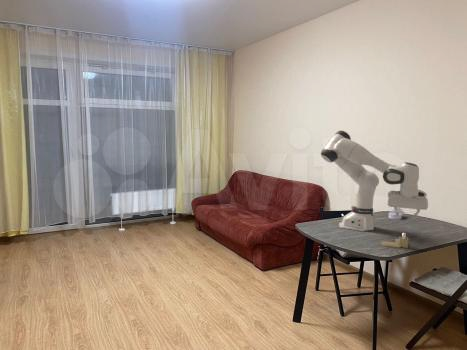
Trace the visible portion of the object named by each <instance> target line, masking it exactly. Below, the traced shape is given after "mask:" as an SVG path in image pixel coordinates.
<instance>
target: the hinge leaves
mask: <svg viewBox="0 0 467 350" xmlns="http://www.w3.org/2000/svg"><path fill="white" fill-rule="evenodd" d="M394 240H395V242H393V241H392V242H391V241H384V240H381V246H382V247H388V246H389V247H391V248H397V247H398V249H400V248H401V247H403V248H404V249H408V248H409V238H408V237H407V236H406V239H402V236H398V238H395V239H394ZM403 248H402V249H403Z"/></svg>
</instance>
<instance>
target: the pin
mask: <svg viewBox="0 0 467 350" xmlns="http://www.w3.org/2000/svg"><path fill="white" fill-rule="evenodd" d="M401 237H402V239H406V237H407V233H406V232H402V233H401Z"/></svg>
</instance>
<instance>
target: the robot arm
mask: <svg viewBox="0 0 467 350" xmlns="http://www.w3.org/2000/svg"><path fill="white" fill-rule="evenodd" d="M320 156H321V158H322V159H323V160H324V161H326V162H328V163H334V164H336V165H337V166H338V167H339V168H340V169H341V170H342V171H343V172H344V173H346V174H347V176H348V177H350V179H351V180H352V181H354V183H355V184H357V185H358V190H357V193H356V194H355V201H354V203H355V205H352V206H351V208H350V209H351V211H350V212H348V213H347V214H345V215H344V216H343V218H342V221H340V222H339V223H338V226H339V228H342V229H347V230H353V231H359V232H366V231H373V230H374V229H375V228H374V223H373V216H374V207H373V206H374V197H375V194H376V193H375V191H376V189H377V187H378V186H379V183H380V179H379V177H378V175H377V174H376V173H375V172H372V171H370V170H367V169H366V168H365V167H364V166H368V167H371V168H373V169H375V170H377V171H379V172H380V173H383V174H382V179H383V182H385V184H388V185H393V186H394V185H399V190H390V191H388V193H387V197H388V199H387V206H388V207H389V208H393V209H394V210H395V211H396V215H399V212H397V210H396V209H397V208H400V209H409V210H410V209H412V210H416V212H414V213H413V217H415V218H417V217H418V214H419V213H420V212H421V210H426V211H427V210H428V208H429V201H428V198H427V194H428V193H426V192H425V191H423V190H421V189H419V185H418V182H419V178H420V168H419V166H418V165H417V164H416V163H413V162H406V161H405V162H403V163H401V164H399V165H393V164H389V163H388V162H386V161H384V160H382V159H380V158H379V157H378V156H375V155H374V154H373V153H372V152H370V151H369V150H368V149H367V148H365V147H364V146H363V145H361V144H360V143H358V142H356V141H354V140H352V139H351V135H350V134H349V133H348V132H347V131H344V130H338V131H337V132H336V133H335V134H333V136H332V137H331V138H330V139H329V141H328V142H327V143H326V144H325V146H324V148H323V149H322V150H321V152H320Z"/></svg>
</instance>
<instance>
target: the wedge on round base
mask: <svg viewBox="0 0 467 350" xmlns="http://www.w3.org/2000/svg"><path fill="white" fill-rule="evenodd" d="M396 210H397V212H399V215H396V211H395V209H394V210H392V211H390V212H388V219H391V220H402V218H403V217H402V216H403V214H405V213H406V211H404V210H402V208H398V207H397V209H396Z"/></svg>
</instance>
